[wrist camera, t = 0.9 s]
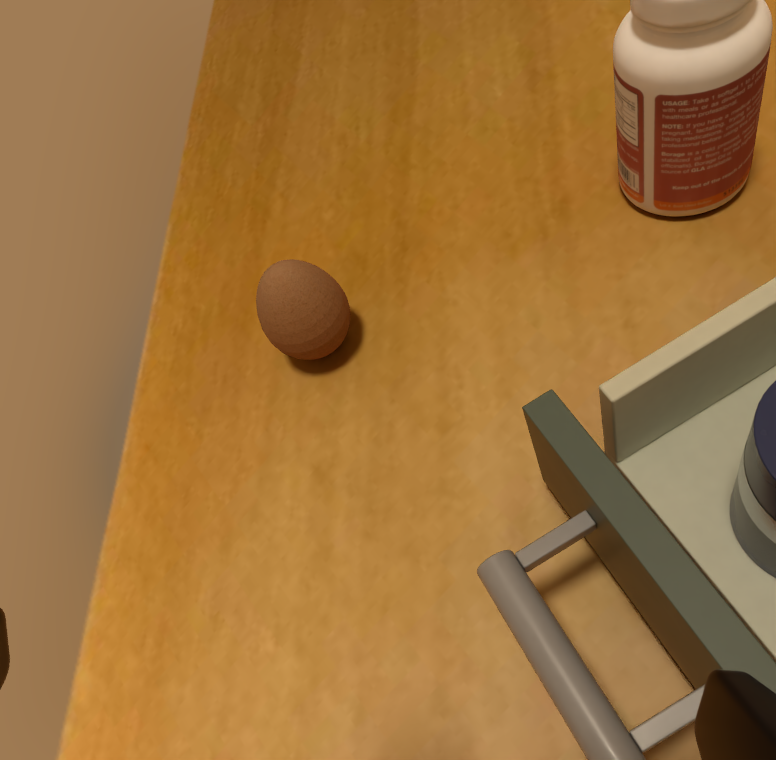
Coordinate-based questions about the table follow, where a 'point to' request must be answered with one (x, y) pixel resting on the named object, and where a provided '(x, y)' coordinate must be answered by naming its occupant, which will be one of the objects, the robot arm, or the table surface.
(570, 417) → the drawer
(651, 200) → the pill bottle
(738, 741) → the robot arm
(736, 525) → the can
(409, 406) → the table surface
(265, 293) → the egg
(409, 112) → the table surface
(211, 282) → the table surface
